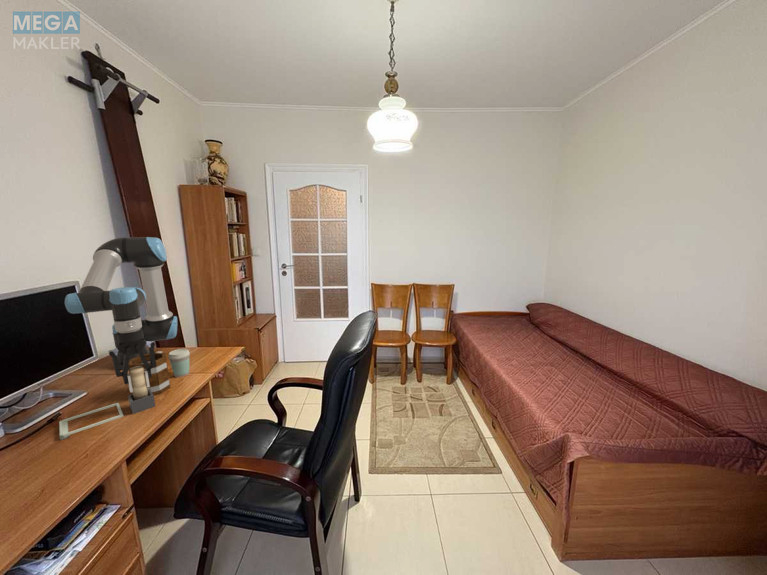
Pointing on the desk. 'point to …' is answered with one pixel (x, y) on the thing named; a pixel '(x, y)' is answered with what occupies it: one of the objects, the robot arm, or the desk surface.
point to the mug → (155, 372)
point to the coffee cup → (179, 362)
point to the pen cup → (141, 402)
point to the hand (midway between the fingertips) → (139, 388)
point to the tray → (64, 425)
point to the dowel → (138, 382)
